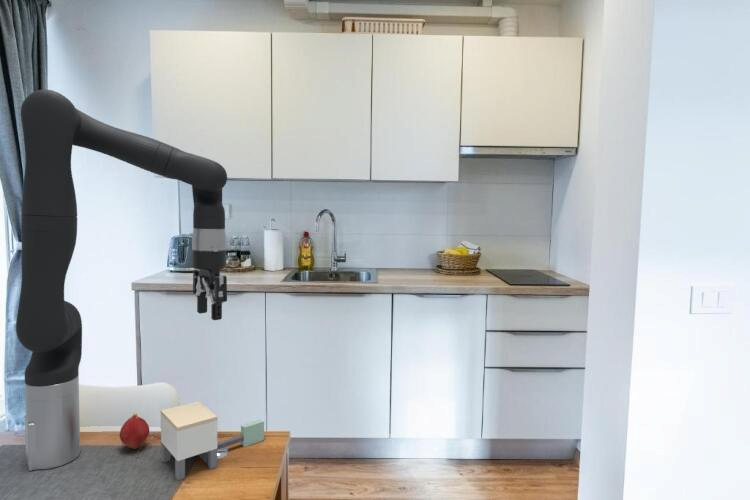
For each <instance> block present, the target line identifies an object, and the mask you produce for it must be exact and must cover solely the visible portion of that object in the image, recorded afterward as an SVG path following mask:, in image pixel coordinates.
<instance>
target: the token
mask: <svg viewBox="0 0 750 500" xmlns="http://www.w3.org/2000/svg"><path fill="white" fill-rule="evenodd" d="M228 454H229V449H228V447H224V448H221V449H218V450H217V460H220V459H221V460H222V459H224V458H226V457H227V456H228Z"/></svg>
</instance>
